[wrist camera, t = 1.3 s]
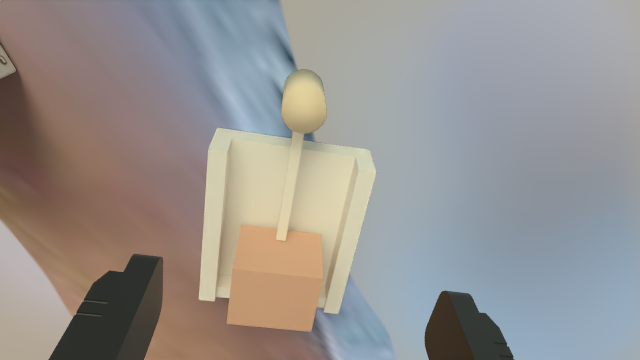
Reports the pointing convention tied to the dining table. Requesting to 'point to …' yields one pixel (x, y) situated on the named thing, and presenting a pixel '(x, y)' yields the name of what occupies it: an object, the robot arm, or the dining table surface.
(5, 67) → the skincare box
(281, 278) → the peach block with knob
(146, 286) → the robot arm
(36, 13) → the dining table surface
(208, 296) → the shelf lane
